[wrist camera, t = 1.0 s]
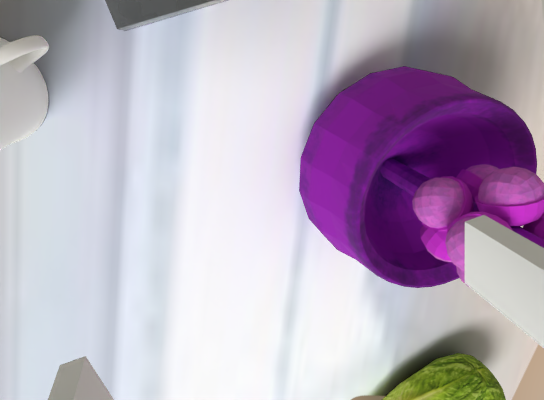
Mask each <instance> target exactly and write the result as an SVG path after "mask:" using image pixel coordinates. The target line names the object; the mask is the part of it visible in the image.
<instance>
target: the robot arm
mask: <svg viewBox="0 0 544 400" xmlns="http://www.w3.org/2000/svg"><path fill="white" fill-rule="evenodd" d="M465 284H467V285H468V286H469V287H470V288H471V289H473V290H474V291H475V292H476V293H477V294H479V295H480V296H481V297H482V298H483V299H485V300H486V301H487V302H488V303H489V304H491V305H492V306H493V307H494V308H496V309H497V310H498V311H499V312H500V313H502V314H503V315H504V316H505V317H506V318H508V319H509V320H510V321H511V322H512V323H514V324H515V325H516V326H517V327H518V328H520V329H521V330H522V331H523V332H525V333H526V334H527V335H528V336H529V337H531V338H532V339H533V340H534V341H535V342H537V343H538V344H539V345H540V346H541V347H543V348H544V248H543V247H541V246H539V245H537V244H535V243H534V242H532V241H530V240H528V239H526V238H525V237H523V236H521V235H519V234H517V233H516V232H514V231H512V230H510V229H509V228H507V227H505V226H503V225H501V224H500V223H498V222H496V221H494V220H492V219H491V218H489V217H487V216H485V215H482V216H479V217H476V218H474V219H471V220H468V221H465ZM48 400H114V399H113V398H112V396H111V395H110V393H109V392H108V390H107V388H106V387H105V385H104V384H103V382H102V381H101V379H100V378H99V376H98V375H97V373H96V372H95V370H94V368H93V367H92V365H91V364H90V362H89V361H88V359H87V358H86V356H85V357H82V358H79V359H76V360H73V361H71V362H68V363H65V364H62V365H60V367H59V370H58V372H57V375H56V378H55V381H54V384H53V387H52V390H51V392H50V395H49V398H48Z"/></svg>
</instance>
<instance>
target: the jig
mask: <svg viewBox="0 0 544 400" xmlns="http://www.w3.org/2000/svg"><path fill="white" fill-rule="evenodd" d="M105 1H106V3H107V6H108V8H109V11H110V13H111V15H112V18H113V20H114V22H115V25H116V27H117V29H119V30H124V31H127V30H130V29H134V28H137V27H140V26H144V25H147V24H150V23H154V22H157V21H160V20H164V19H167V18H171V17H174V16H177V15H181V14H184V13H187V12H191V11H194V10H197V9H201V8H204V7H207V6H211V5H214V4H218V3H221V2H224V1H228V0H105Z"/></svg>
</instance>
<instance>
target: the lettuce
mask: <svg viewBox="0 0 544 400" xmlns="http://www.w3.org/2000/svg"><path fill="white" fill-rule="evenodd" d="M382 400H506V399H505V396H504V392H503V389H502V387H501V386H500V384H499V382H498V381H497V379H496V378H495V377H494V375H493V374H492V373H491V372H490V370H489V369H488V368H487V367H486V366H485V365H483V364H482V363H481V362H480V361H479V360H477V359H476V358H475V357H473V356H471V355H465V354H460V353H456V354H453V355H449V356H445V357H441V358H437V359H435V360H434V361H432V362H431V363H429V364H428V365H426V366H425V367H424V368H422V369H421V370H419V371H418V372H416V373H415V374H413V375H412V376H410V377H409V378H407V379H406V380H404V381H403V382H401V383H400V384H399V385H398V386H396V387H395V388H394V389H393V390H392V391H391V392H390V393H389V394H388V395H387V396H385V397H384V398H383V399H382Z"/></svg>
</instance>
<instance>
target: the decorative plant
mask: <svg viewBox="0 0 544 400" xmlns="http://www.w3.org/2000/svg"><path fill="white" fill-rule="evenodd" d="M536 169H537V159H536V148H535V145H534V141H533V138H532V135H531V133H530V131H529V129H528V127H527V125H526V124H525V122H524V121H523V120H522V119H521V118H520V117H519V116H518V115H517V114H516V112H515V111H514V110H513V109H511V108H509V107H508V106H506V105H505V104H503V103H502V102H500V101H497V100H495V99H493V98H490V97H488V96H486V95H483V94H481V93H479V92H476V91H474V90H471V89H470V88H468V87H467V86H465V85H464V84H462V83H461V82H460V81H458V80H457V79H455V78H454V77H451V76H447V75H442V74H438V73H433V72H428V71H424V70H419V69H415V68H410V67H405V66H403V67H399V68H394V69H389V70H384V71H380V72H375V73H370V74H369V75H367V76H366V77H364V78H363V79H361V80H359V81H358V82H356V83H355V84H353V85H351V86H350V87H348V88H347V89H345V90H343V91H342V92H340V93H339V94H338V95H337V96H336V97H335V99H334V100H333V101H332V102H331V104H330V105H329V106H328V107H327V108H326V110H325V111H324V112H323V113H322V114H321V116H320V117H319V118H318V119H317V121H316V122H315V123H314V125H313V128H312V130H311V133H310V136H309V138H308V141H307V143H306V146H305V148H304V151H303V153H302V156H301V166H300V187H299V191H300V194H301V197H302V200H303V203H304V206H305V209H306V212H307V214H308V217H309V219H310V220H311V222H312V223H313V224H314V225H315V226H316V227H317V228H318V229H319V230H320V231H321V233H322V234H323V235H324V236H325V237H326V238H327V239H328V240H329V241H330V242H331V243H332V245H333V246H334V247H335V248H336V249H337V250H339V251H341V252H343V253H345V254H346V255H348V256H350V257H352V258H354V259H356V260H357V261H359V262H360V263H361V264H363V265H364V266H365V267H367V268H368V269H369V270H371V271H372V272H373V273H374V274H376V275H377V276H379V277H381V278H383V279H384V280H386V281H388V282H391V283H394V284H398V285H401V286H405V287H415V288H421V287H432V286H436V285H441V284H445V283H447V282H450V281H453V280H455V279H458V278H460V279H461V281H463V282H464V283H465V221H468V220H471V219H474V218H476V217H479V216H482V215H485V216H487V217H489V218H491V219H492V220H494V221H496V222H498V223H500V224H501V225H503V226H505V227H507V228H509V229H510V230H512V231H514V232H516V233H517V234H519V235H521V236H523V237H525V238H526V239H528V240H530V241H532V242H534V243H535V244H537V245H539V246H541V247H543V248H544V183H543V182H542V181H541V179H540V178H539V177H538V176H537V175H536ZM523 225H524V226H523ZM520 226H523V228H522V227H520ZM466 285H467V284H466ZM467 286H468V285H467ZM468 287H469V286H468Z"/></svg>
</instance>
